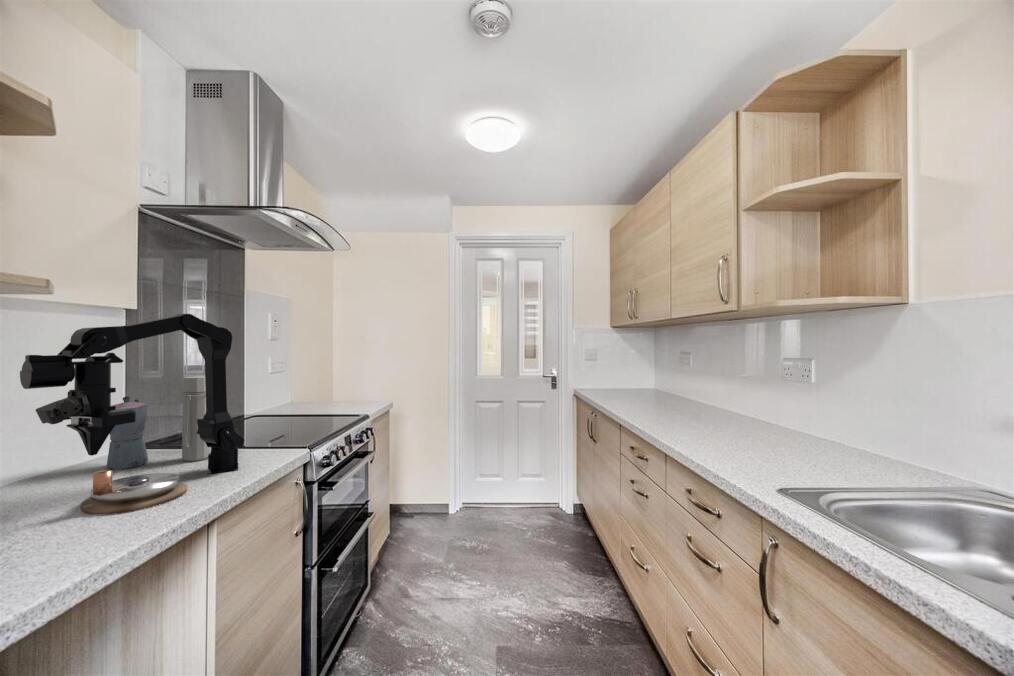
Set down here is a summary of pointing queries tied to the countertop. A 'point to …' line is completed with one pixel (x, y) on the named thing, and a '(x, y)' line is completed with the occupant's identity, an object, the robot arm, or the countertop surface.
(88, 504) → the wheel base
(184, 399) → the water bottle
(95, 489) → the handwheel
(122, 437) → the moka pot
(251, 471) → the countertop surface
